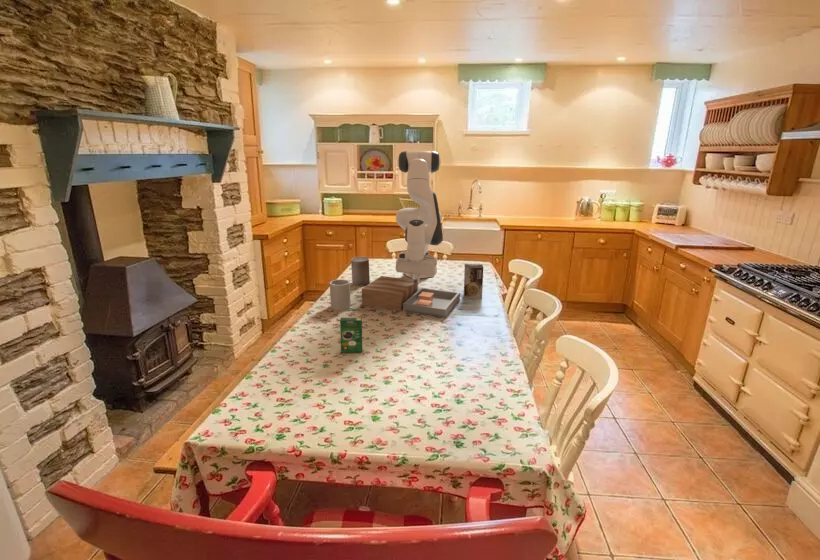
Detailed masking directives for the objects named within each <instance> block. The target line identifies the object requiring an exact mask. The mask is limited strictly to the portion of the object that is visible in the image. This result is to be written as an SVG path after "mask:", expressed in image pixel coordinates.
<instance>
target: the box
mask: <svg viewBox="0 0 820 560" xmlns="http://www.w3.org/2000/svg"><path fill="white" fill-rule="evenodd" d="M422 292H429V293H434V299H433V300H432V307H430V306H423V305H416V303H417V302H418V301H419V300H418V295H419V294H421V293H422ZM460 297H461V292H458V291H448V290H442V289H434V288H428V287H427V288H426V287H420V288H418V291H417V292H416V293H415V294H414V295H412V296H411V297H410V298H409V299H408V300H407V301H405V302H404V303H403V309H402V312H404V313H408V314H415V315H416V314H417V315H421V314H422V315H423V316H429V317H434V316H435V318H441V319H446V318H447V317H448V316H449V314H450V313H451V312H452V311H453V309H454V308H455V306H457V305H458V303H459V302H460V301H461V299H460Z"/></svg>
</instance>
